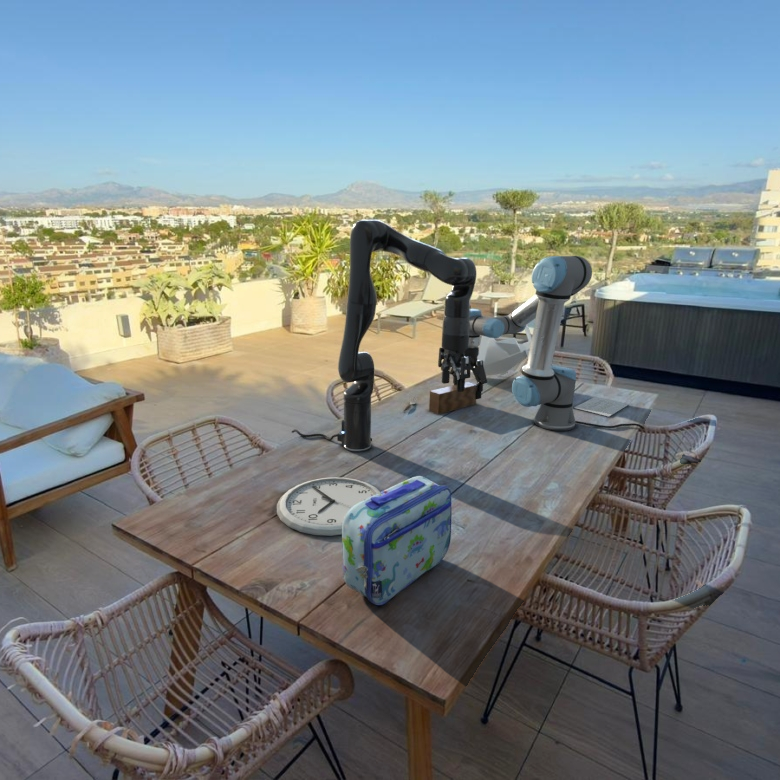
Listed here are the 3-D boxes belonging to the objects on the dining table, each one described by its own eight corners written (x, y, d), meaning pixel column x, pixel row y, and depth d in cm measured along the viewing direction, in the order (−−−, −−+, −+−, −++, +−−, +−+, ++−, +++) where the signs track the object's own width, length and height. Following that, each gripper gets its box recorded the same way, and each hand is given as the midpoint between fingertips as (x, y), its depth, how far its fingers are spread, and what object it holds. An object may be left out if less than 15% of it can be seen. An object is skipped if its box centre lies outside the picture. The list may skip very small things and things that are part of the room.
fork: (400, 412, 215) (400, 407, 215) (412, 400, 229) (412, 396, 229) (406, 412, 214) (406, 408, 214) (418, 401, 229) (418, 397, 228)
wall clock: (392, 527, 129) (268, 531, 127) (391, 533, 130) (269, 537, 127) (383, 473, 158) (282, 475, 155) (383, 478, 158) (282, 480, 156)
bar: (466, 400, 231) (467, 381, 229) (475, 403, 227) (477, 384, 225) (429, 410, 218) (429, 390, 215) (438, 414, 214) (439, 394, 211)
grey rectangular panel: (608, 416, 214) (573, 407, 224) (608, 416, 214) (573, 408, 224) (628, 404, 229) (594, 396, 238) (628, 405, 229) (594, 397, 238)
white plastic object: (488, 419, 266) (468, 396, 241) (469, 346, 288) (449, 319, 263) (559, 395, 254) (545, 368, 229) (533, 321, 276) (519, 290, 251)
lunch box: (371, 618, 102) (371, 524, 95) (336, 591, 109) (334, 502, 103) (455, 562, 119) (460, 479, 113) (420, 542, 126) (423, 463, 120)
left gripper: (431, 328, 151) (429, 381, 156) (456, 337, 138) (453, 395, 143) (454, 326, 154) (451, 379, 158) (481, 335, 141) (477, 392, 146)
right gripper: (443, 342, 227) (441, 389, 233) (486, 352, 209) (482, 403, 215) (455, 340, 231) (452, 386, 238) (498, 350, 213) (494, 400, 219)
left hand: (452, 387), depth 151 cm, fingers open, 8 cm apart
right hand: (466, 394), depth 226 cm, fingers open, 12 cm apart
